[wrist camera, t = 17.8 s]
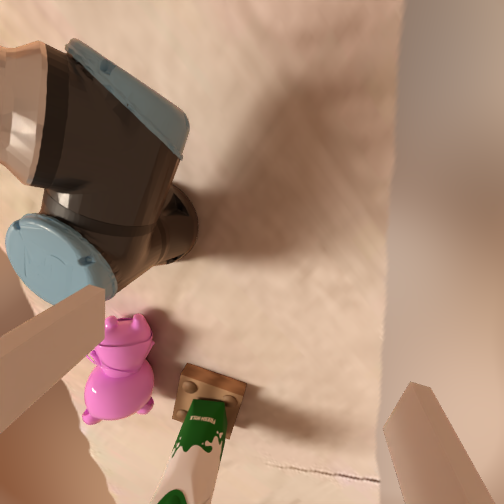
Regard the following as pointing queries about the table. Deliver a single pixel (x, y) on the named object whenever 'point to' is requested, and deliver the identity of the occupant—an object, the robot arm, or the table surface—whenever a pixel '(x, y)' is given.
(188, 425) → the soya milk
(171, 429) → the table surface
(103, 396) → the toy character
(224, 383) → the base brick
